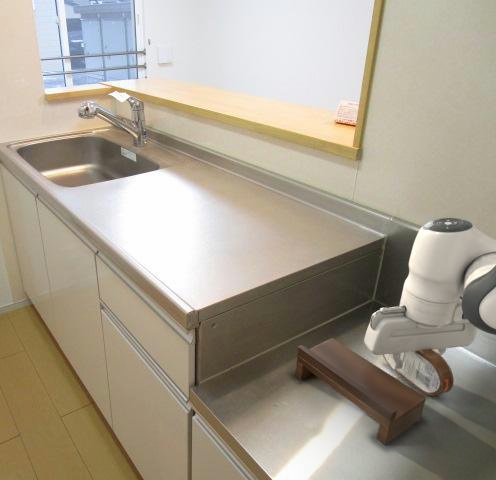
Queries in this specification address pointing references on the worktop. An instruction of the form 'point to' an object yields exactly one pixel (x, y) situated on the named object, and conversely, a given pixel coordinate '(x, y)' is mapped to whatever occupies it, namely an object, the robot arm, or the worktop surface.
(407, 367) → the tin
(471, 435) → the worktop surface
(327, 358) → the shelf
